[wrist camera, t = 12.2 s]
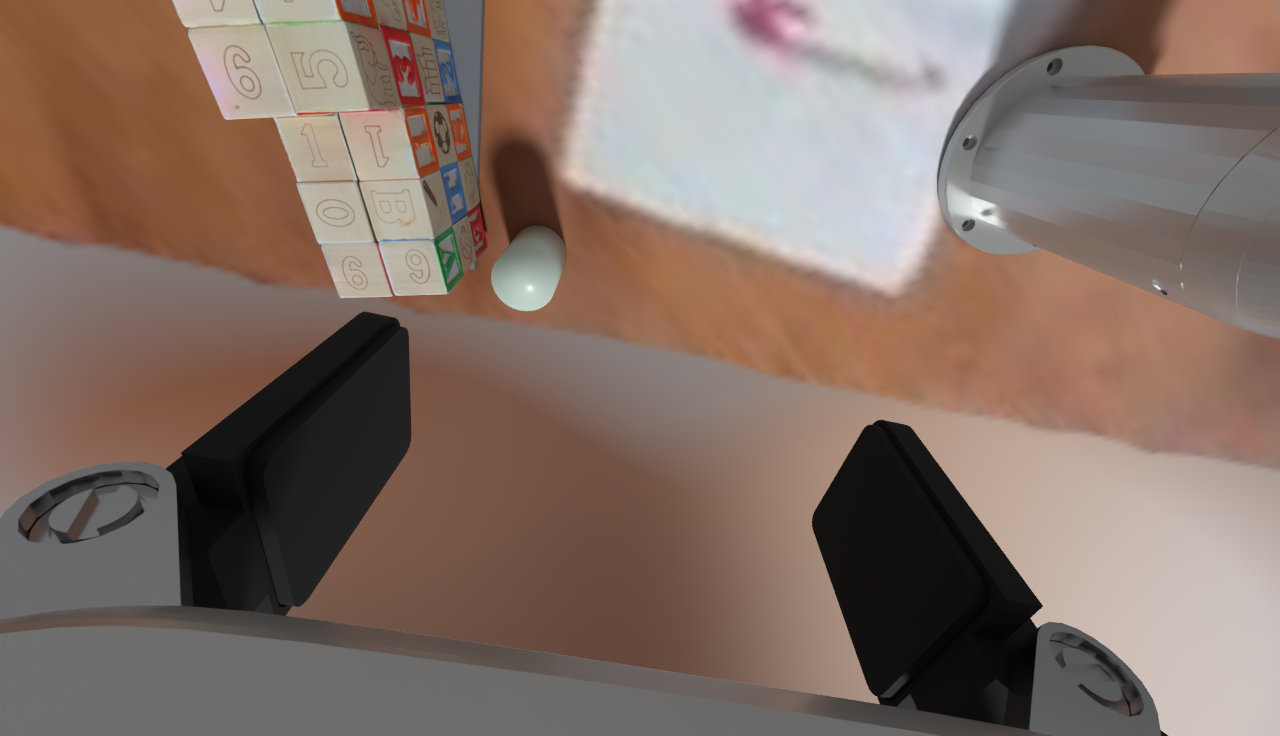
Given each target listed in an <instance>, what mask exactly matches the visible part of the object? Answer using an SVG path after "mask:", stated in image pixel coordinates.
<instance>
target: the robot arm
mask: <svg viewBox="0 0 1280 736" xmlns="http://www.w3.org/2000/svg"><path fill="white" fill-rule="evenodd" d="M964 140H965V142H964ZM963 142H964V144H963ZM938 199H939V204H940V208H941V212H942V215H943V217H944V219H945V221H946V223H947V225H948V227H949V228H950V230H951V231H952V232H953V233H954V234H955V235H956V236H957V237H958V238H959V239H960V240H962V241H964V242H965V243H967V244H968V245H970V246H972V247H974V248H977V249H979V250H981V251H983V252H988V253H993V254H997V255H1017V254H1023V253H1028V252H1033V251H1036V250H1039V249H1044V250H1047V251H1049V252H1052V253H1054V254H1057V255H1059V256H1062V257H1064V258H1067V259H1069V260H1072V261H1074V262H1077V263H1079V264H1082V265H1084V266H1087V267H1089V268H1091V269H1094V270H1096V271H1099V272H1101V273H1104V274H1106V275H1109V276H1111V277H1114V278H1116V279H1119V280H1121V281H1124V282H1126V283H1129V284H1131V285H1134V286H1136V287H1139V288H1141V289H1143V290H1146V291H1148V292H1151V293H1153V294H1156V295H1158V296H1161V297H1163V298H1166V299H1168V300H1171V301H1173V302H1176V303H1178V304H1181V305H1183V306H1186V307H1188V308H1190V309H1193V310H1195V311H1198V312H1200V313H1203V314H1206V315H1208V316H1210V317H1212V318H1215V319H1218V320H1220V321H1223V322H1225V323H1228V324H1230V325H1233V326H1235V327H1238V328H1241V329H1244V330H1247V331H1250V332H1253V333H1256V334H1260V335H1264V336H1268V337H1273V338H1278V339H1280V73H1226V74H1170V75H1145V74H1144V72H1143V70H1142V69H1141V67H1140V66H1139V65H1138V64H1137V63H1136V62H1135V61H1134V60H1133V59H1131V58H1130V57H1129V56H1128V55H1126V54H1124V53H1122V52H1120V51H1117V50H1115V49H1113V48H1109V47H1101V46H1094V45H1088V46H1073V47H1067V48H1062V49H1057V50H1052V51H1049V52H1046V53H1044V54H1041V55H1039V56H1036V57H1034V58H1031V59H1029V60H1027V61H1025V62H1024V63H1022V64H1020V65H1019V66H1017V67H1015V68H1014V69H1012V70H1010V71H1009V72H1007V73H1006V74H1005V75H1004V76H1002V77H1001V78H1000V79H999V80H997V81H996V82H995V83H994V84H992V85H991V86H990V87H989V88H988V89H987V90H986V91H985V92H984V93H983V94H982V95H981V96H980V97H979V98H978V100H977V101H976V102H975V103H974V104H973V105H972V106H971V108H970V109H969V110H968V112H967V113H966V115H965V116H964V117H963V119H962V120H961V122H960V123H959V124H958V126H957V128H956V130H955V132H954V134H953V136H952V138H951V140H950V141H949V143H948V146H947V149H946V152H945V155H944V157H943V160H942V163H941V169H940V174H939V180H938ZM410 407H411V406H410V369H409V335H408V331H407V329H406V328H404V327H400V324H399V321H398V320H397V319H396V318H393V317H388V316H384V315H379V314H374V313H369V312H362V313H360V314H359V315H357V316H356V317H355V318H353V319H352V320H351V321H350V322H348V323H347V324H346V325H344V326H343V327H342V328H341V329H339V330H338V331H337V332H335V333H334V334H333V335H332V336H330V337H329V338H328V339H326V340H325V341H324V342H323V343H321V344H320V345H319V346H318V347H316V348H315V349H314V350H313V351H311V352H310V353H308V354H307V355H306V356H305V357H303V358H302V359H301V360H300V361H298V362H297V363H296V364H294V365H293V366H292V367H290V368H289V369H288V370H287V371H285V372H284V373H283V374H282V375H280V376H279V377H278V378H276V379H275V380H274V381H273V382H272V383H270V384H269V385H267V386H266V387H265V388H263V389H262V390H261V391H260V392H259V393H257V394H256V395H255V396H253V397H252V398H251V399H249V400H248V401H247V402H246V403H244V404H243V405H242V406H241V407H239V408H238V409H237V410H235V411H234V412H233V413H231V414H230V415H229V416H228V417H226V418H225V419H224V420H222V421H221V422H220V423H219V424H218V425H216V426H215V427H213V428H212V429H211V430H210V431H208V432H207V433H206V434H204V435H203V436H202V437H201V438H199V439H198V440H197V441H195V442H194V443H193V444H192V445H191V446H189V447H188V448H187V449H185V450H184V451H183V452H182V456H181V457H180V458H179V459H178V460H176V461H175V462H174V463H172V464H171V465H170V466H169V467H167V468H166V469H164V468H163V467H161V466H158V465H154V464H150V463H146V462H116V463H109V464H102V465H96V466H92V467H89V468H85V469H81V470H77V471H74V472H70V473H68V474H66V475H63V476H61V477H58V478H56V479H53V480H51V481H49V482H46V483H44V484H42V485H41V486H39V487H37V488H36V489H34V490H32V491H30V492H29V493H27V494H25V495H24V496H22V497H21V498H20V499H19V500H18V501H16V502H15V503H14V504H13V505H12V506H11V507H10V508H9V509H7V510H6V511H5V512H4V514H3V516H2V517H1V519H0V736H1168V735H1166V734H1165V733H1164V732H1162V731H1161V730H1160V725H1159V719H1158V713H1157V710H1156V707H1155V704H1154V702H1153V699H1152V697H1151V696H1150V694H1149V692H1148V691H1147V689H1146V688H1145V686H1144V685H1143V683H1142V682H1141V681H1140V680H1139V678H1138V677H1137V676H1136V675H1135V674H1134V673H1133V672H1132V670H1131V669H1130V668H1129V667H1128V666H1127V665H1126V664H1125V663H1124V662H1123V661H1122V660H1121V659H1120V658H1118V657H1117V656H1116V655H1115V654H1114V653H1113V652H1112V651H1111V650H1109V649H1108V648H1107V647H1105V646H1104V645H1102V644H1101V643H1100V642H1098V641H1097V640H1096V639H1094V638H1093V637H1091V636H1089V635H1087V634H1085V633H1084V632H1082V631H1080V630H1078V629H1076V628H1073V627H1071V626H1068V625H1065V624H1062V623H1055V622H1048V623H1046V624H1043V625H1041V626H1040V627H1039V628H1038V629H1037V627H1036V626H1035V625H1034V623H1033V622H1032V620H1031V619H1030V618H1031V617H1032V616H1033V615H1034V614H1035V613H1036V612H1037V611H1038V610H1039V609H1041V607H1043V606H1042V604H1041V603H1040V601H1039V600H1038V599H1037V597H1036V596H1035V595H1034V594H1033V592H1032V591H1031V589H1030V588H1029V587H1028V585H1027V584H1026V582H1025V581H1024V580H1023V578H1022V577H1021V576H1020V574H1019V573H1018V572H1017V570H1016V569H1015V568H1014V566H1013V565H1012V564H1011V562H1010V561H1009V559H1008V558H1007V557H1006V555H1005V554H1004V553H1003V551H1002V550H1001V549H1000V547H999V546H998V545H997V543H996V542H995V540H994V539H993V538H992V536H991V535H990V534H989V532H988V531H987V530H986V528H985V527H984V526H983V524H982V523H981V522H980V520H979V519H978V517H977V516H976V515H975V513H974V512H973V511H972V509H971V508H970V507H969V505H968V504H967V502H966V501H965V500H964V498H963V497H962V496H961V495H960V493H959V492H958V490H957V489H956V488H955V486H954V485H953V483H952V482H951V481H950V479H949V478H948V477H947V475H946V474H945V473H944V471H943V470H942V469H941V467H940V466H939V465H938V463H937V462H936V461H935V459H934V458H933V457H932V455H931V454H930V452H929V451H928V450H927V448H926V447H925V446H924V444H923V443H922V441H921V440H920V439H919V437H918V436H917V435H916V433H915V432H914V431H913V429H912V428H911V427H910V426H907V425H904V424H899V423H894V422H889V421H885V420H878V421H876V422H875V423H873V425H868V426H866V427H865V428H864V430H863V431H862V433H861V434H860V436H859V438H858V440H857V441H856V443H855V444H854V446H853V448H852V449H851V451H850V453H849V454H848V456H847V458H846V459H845V461H844V463H843V465H842V466H841V468H840V470H839V471H838V473H837V475H836V476H835V478H834V480H833V481H832V483H831V485H830V486H829V488H828V490H827V491H826V493H825V495H824V496H823V498H822V500H821V502H820V503H819V505H818V507H817V508H816V510H815V512H814V514H813V518H812V527H813V531H814V534H815V537H816V540H817V542H818V545H819V548H820V551H821V554H822V557H823V560H824V562H825V565H826V568H827V571H828V574H829V577H830V580H831V582H832V585H833V588H834V591H835V594H836V597H837V600H838V602H839V605H840V608H841V611H842V614H843V617H844V620H845V622H846V625H847V628H848V631H849V634H850V637H851V639H852V643H853V645H854V648H855V651H856V654H857V657H858V660H859V663H860V665H861V668H862V671H863V674H864V677H865V680H866V683H867V685H868V687H869V689H870V691H871V692H872V693H873V694H874V695H875V696H877V697H878V700H879V703H880V704H874V703H867V702H861V701H855V700H848V699H842V698H836V697H830V696H823V695H817V694H810V693H805V692H798V691H792V690H786V689H779V688H773V687H766V686H760V685H754V684H747V683H741V682H734V681H728V680H721V679H714V678H708V677H702V676H694V675H689V674H682V673H676V672H669V671H663V670H656V669H650V668H643V667H636V666H630V665H623V664H617V663H610V662H603V661H597V660H590V659H584V658H577V657H571V656H564V655H557V654H551V653H544V652H537V651H530V650H523V649H517V648H510V647H503V646H496V645H490V644H483V643H476V642H469V641H463V640H456V639H449V638H442V637H435V636H428V635H422V634H415V633H408V632H401V631H395V630H388V629H381V628H374V627H366V626H359V625H350V624H343V623H336V622H328V621H320V620H312V619H304V618H297V617H289V616H286V614H287V613H288V611H289V610H290V608H291V607H292V606H296V607H299V606H301V605H302V604H304V603H305V602H306V601H307V599H308V598H309V597H310V595H311V594H312V592H313V591H314V589H315V588H316V586H317V585H318V583H319V582H320V580H321V579H322V577H323V576H324V575H325V573H326V572H327V570H328V569H329V567H330V566H331V564H332V563H333V561H334V559H335V558H336V557H337V555H338V554H339V552H340V551H341V549H342V548H343V546H344V545H345V543H346V542H347V540H348V539H349V537H350V536H351V534H352V533H353V532H354V530H355V529H356V527H357V526H358V524H359V523H360V521H361V520H362V518H363V516H364V515H365V514H366V512H367V511H368V509H369V508H370V506H371V505H372V503H373V502H374V500H375V499H376V497H377V496H378V494H379V493H380V491H381V490H382V488H383V487H384V486H385V484H386V482H387V481H388V480H389V478H390V477H391V475H392V474H393V472H394V471H395V469H396V468H397V466H398V465H399V463H400V462H401V460H402V459H403V457H404V456H405V454H406V453H407V450H408V448H409V445H410V441H411V409H410Z"/></svg>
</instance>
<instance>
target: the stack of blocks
mask: <svg viewBox="0 0 1280 736" xmlns="http://www.w3.org/2000/svg"><path fill="white" fill-rule="evenodd" d="M172 2H173V5H174V7H175V9H176V12H177V14H178V16H179V18H180V20H181V22H182V23H183V24H184V25H185V27H186V28H187V29H188V36H189V39H190V41H191V44H192V46H193V48H194V51H195V53H196V55H197V57H198V60H199V62H200V64H201V67H202V69H203V71H204V74H205V76H206V78H207V81H208V83H209V85H210V88H211V90H212V92H213V94H214V97H215V99H216V101H217V103H218V106H219V108H220V110H221V113H222V115H223V117H224V118H225V119H226V120H231V119H249V118H270V117H273V118H274V121H275V124H276V127H277V129H278V132H279V135H280V138H281V140H282V143H283V146H284V148H285V151H286V154H287V156H288V159H289V162H290V164H291V167H292V170H293V173H294V175H295V178H296V180H297V188H298V191H299V193H300V196H301V199H302V202H303V204H304V207H305V210H306V212H307V215H308V218H309V220H310V223H311V226H312V229H313V231H314V234H315V237H316V239H317V242H318V243H319V244H320V245H321V247H322V251H323V254H324V257H325V260H326V262H327V265H328V267H329V270H330V273H331V276H332V279H333V281H334V284H335V287H336V289H337V292H338V295H339V297H340V298H358V297H391V296H394V295H434V294H448V293H449V292H450V291H451V290H452V289H453V288H454V287H455V285H456V284H457V283H458V282H459V281H460V280H461V279H462V278H463V276H464V273H465V272H466V271H467V270H468V269H469V268H470V267H471V266H472V264H473V263H474V262H475V261H476V259H477V258H478V257H479V256H480V255H481V254H482V253H483V252H484V251H485V249H486V248H487V241H486V236H485V231H484V226H483V221H482V215H481V211H480V206H479V202H480V198H479V192H478V187H477V181H476V176H475V171H474V165H473V160H472V157H471V148H470V142H469V136H468V131H467V125H466V119H465V114H464V108H463V105H462V103H461V99H460V93H459V88H458V82H457V76H456V71H455V65H454V60H453V54H452V48H451V46H450V41H449V34H448V29H447V23H446V18H445V12H444V7H443V1H442V0H172Z"/></svg>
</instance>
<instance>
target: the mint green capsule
mask: <svg viewBox="0 0 1280 736" xmlns="http://www.w3.org/2000/svg"><path fill="white" fill-rule="evenodd" d="M566 259H567V251H566V247H565V244H564V242H563V240H562V239H561V237H560V236H559V235H558V234H557V233H556V232H554V231H553V230H551V229H549V228H547V227H544V226H530V227H527V228H525V229H523V230H521V231H520V232H519V233H518V234H517V236H516V237H515V238H514V239H513V241H512V242H511V243H510V245H509V246H508V247H507V248H506V250H505V251H504V252H503V254H502V255H501V256H500V257H499V259H498V260H497V261H496V263H495V264H494V267H493V269H492V274H491V281H492V286H493V288H494V291H495V293H496V294H497V296H498V297H499V298H500V299H501V300H502V301H503V302H504V303H505V304H507V305H508V306H510V307H512V308H514V309H517V310H521V311H533V310H537V309H539V308H542V307H543V306H545V305H546V304H547V303H548V302H549V301H550V300H551V298H552V296H553V294H554V292H555V289H556V286H557V284H558V281H559V279H560V276H561V273H562V271H563V268H564V266H565V263H566Z"/></svg>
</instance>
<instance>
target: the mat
mask: <svg viewBox="0 0 1280 736" xmlns="http://www.w3.org/2000/svg"><path fill="white" fill-rule="evenodd" d="M442 1H443V7H444V12H445V18H446V23H447V29H448V34H449V41H450V46H451V48H452V54H453V60H454V65H455V71H456V76H457V82H458V88H459V93H460V99H461V103H462V105H463V108H464V114H465V119H466V125H467V131H468V136H469V142H470V148H471V157H472V160H473V165H474V171H475V176H476V181H477V187H478V192H479V173H480V140H481V107H482V73H483V40H484V6H485V0H442ZM476 268H477V259H476V261H475V262H474V263H473V264H472V266H471V267H470V268H469V269H472V270H475V269H476Z"/></svg>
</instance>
